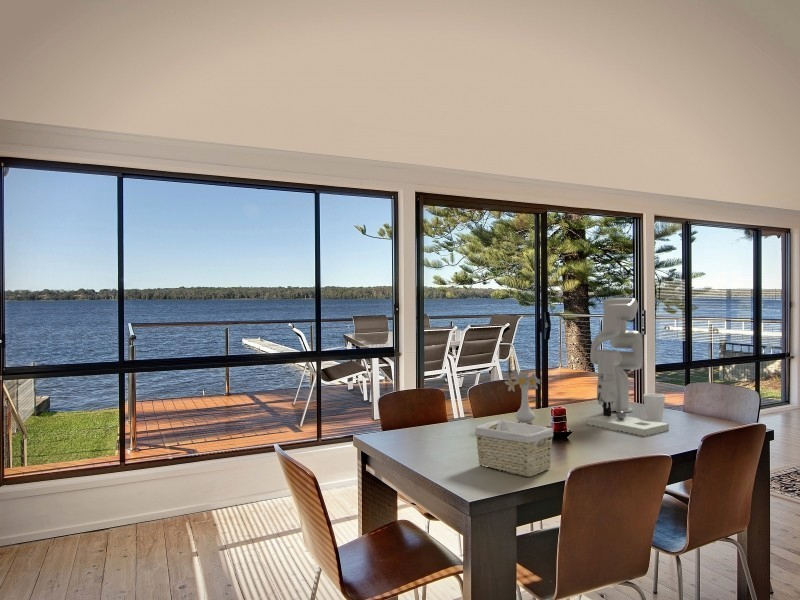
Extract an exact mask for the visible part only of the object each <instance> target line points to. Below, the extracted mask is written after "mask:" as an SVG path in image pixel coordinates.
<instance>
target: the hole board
mask: <svg viewBox="0 0 800 600" xmlns="http://www.w3.org/2000/svg"><path fill="white" fill-rule="evenodd" d="M616 415H617V413H611V416H609V417H608V416H604V415H597V416H592V417H587V422H586V423H587V425H588V424H589V426H592V425H595V426H594V427H597V426H599V427H598V428H602V427H604V428H603V429H607V428H609V429H608V430H612V429H614V430H613V431H617V430H619V431H618V432H621V431H623V432H622V433H626V432H628V433H627V434H631V433H633V434H632V435H636V434H637V436H641V435H642V437H647V435H648V436H651V434H652V435H656V434H659V432H660V433H663V432H662V431H665V432H668V431H667V430H669V431H670V424H669V423H666V422H663V421H662V422H656V421H651V420H647V419H645V418H639V417H634V416H628V415H626V417H625V419H623V420H619V419H618V418H617V416H616ZM655 433H656V434H655Z"/></svg>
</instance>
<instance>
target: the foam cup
mask: <svg viewBox="0 0 800 600" xmlns="http://www.w3.org/2000/svg"><path fill="white" fill-rule="evenodd" d="M665 401H666V396H665V394H662V393H652V392H651V393H644V394H643V402H644V408H645V415H646V420H651V421H656V422H662V423H663V417H664V416H663V415H664V408H665V407H664V406H665Z"/></svg>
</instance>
